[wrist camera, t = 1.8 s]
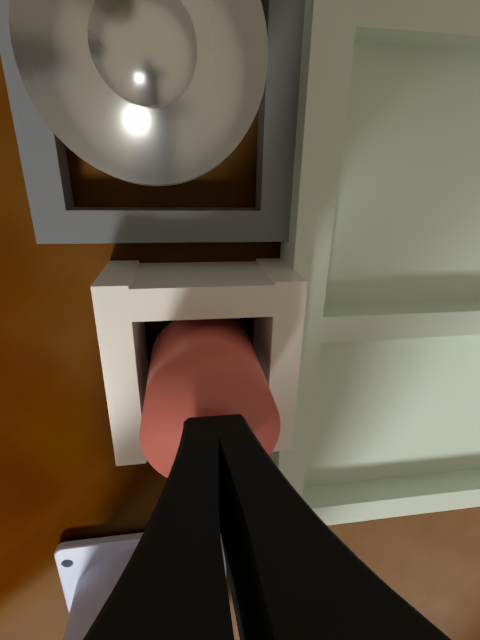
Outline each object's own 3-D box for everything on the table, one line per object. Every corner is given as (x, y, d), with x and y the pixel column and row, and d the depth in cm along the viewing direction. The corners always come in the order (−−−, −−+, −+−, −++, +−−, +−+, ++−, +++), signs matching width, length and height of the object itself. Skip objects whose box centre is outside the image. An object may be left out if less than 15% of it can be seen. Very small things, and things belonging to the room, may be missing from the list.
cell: (228, 178, 12) (270, 190, 7) (101, 176, 12) (25, 187, 6) (229, 28, 11) (285, -128, 5) (82, 18, 10) (-45, -173, 4)
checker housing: (273, 401, 16) (292, 449, 14) (127, 412, 15) (116, 466, 13) (282, 257, 14) (308, 281, 11) (109, 260, 13) (90, 286, 10)
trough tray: (513, 471, 20) (541, 498, 19) (265, 499, 18) (273, 532, 17) (688, 28, 13) (763, 8, 11) (295, -7, 11) (317, -38, 9)
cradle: (281, 236, 13) (288, 241, 13) (47, 238, 12) (36, 243, 11) (298, -52, 10) (310, -73, 9) (-11, -85, 9) (-32, -113, 8)
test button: (251, 398, 14) (276, 479, 10) (154, 404, 14) (145, 493, 10) (254, 309, 13) (284, 368, 9) (147, 313, 12) (133, 377, 9)
